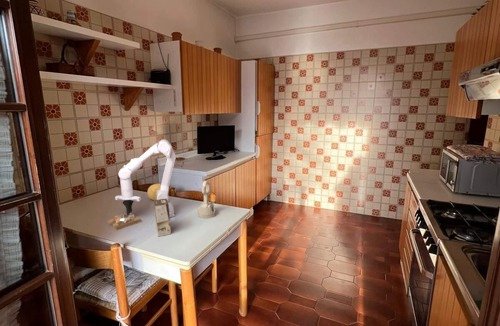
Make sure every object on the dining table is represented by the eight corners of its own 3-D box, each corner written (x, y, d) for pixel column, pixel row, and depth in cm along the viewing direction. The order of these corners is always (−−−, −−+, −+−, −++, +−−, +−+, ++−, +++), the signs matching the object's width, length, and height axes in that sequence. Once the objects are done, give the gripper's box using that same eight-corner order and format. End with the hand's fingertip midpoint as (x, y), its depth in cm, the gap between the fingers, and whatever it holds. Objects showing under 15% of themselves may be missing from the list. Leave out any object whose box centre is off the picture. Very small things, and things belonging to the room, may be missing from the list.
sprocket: (138, 216, 150) (137, 208, 148) (125, 224, 140) (124, 215, 138) (122, 214, 152) (121, 206, 151) (108, 222, 142) (107, 213, 141)
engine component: (195, 218, 151) (211, 219, 149) (193, 183, 147) (210, 184, 145) (202, 210, 161) (218, 211, 159) (200, 178, 157) (216, 179, 155)
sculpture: (154, 203, 175) (152, 187, 173) (145, 199, 183) (143, 184, 180) (169, 198, 184) (168, 183, 181) (160, 194, 191) (158, 180, 189)
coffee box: (171, 234, 132) (168, 203, 129) (157, 236, 130) (155, 206, 126) (169, 226, 140) (166, 198, 137) (156, 229, 138) (153, 200, 134)
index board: (141, 221, 147) (140, 214, 146) (117, 230, 137) (116, 222, 136) (130, 215, 155) (130, 208, 154) (107, 222, 146) (106, 215, 145)
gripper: (143, 187, 148) (145, 210, 150) (120, 186, 151) (122, 208, 153) (135, 191, 141) (137, 215, 144) (111, 190, 144) (114, 213, 147)
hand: (129, 212), depth 148 cm, fingers closed, pressing on sprocket
